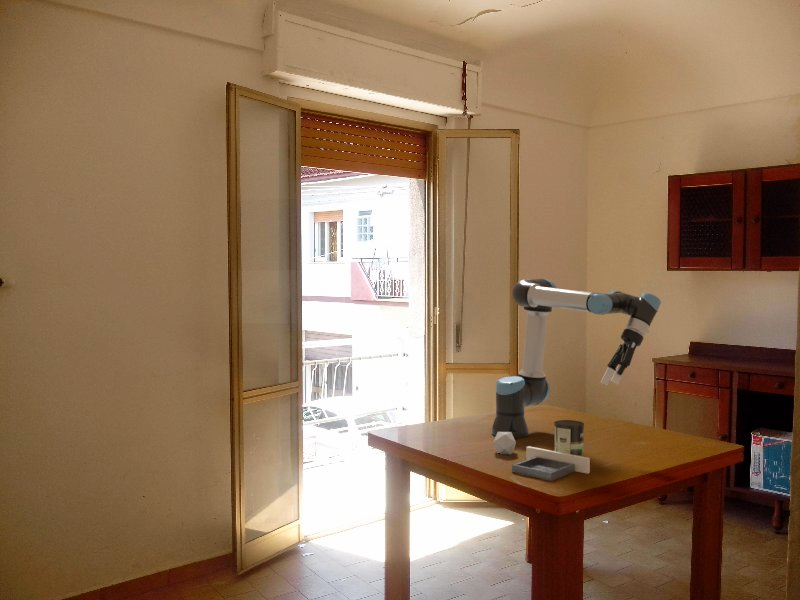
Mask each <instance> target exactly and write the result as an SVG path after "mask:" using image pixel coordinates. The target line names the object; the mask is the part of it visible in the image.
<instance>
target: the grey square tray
mask: <svg viewBox="0 0 800 600" xmlns="http://www.w3.org/2000/svg"><path fill="white" fill-rule="evenodd" d="M513 472H516V473H515V474H518V473H520V474H519V475H522V474H523V476H526V475H528V476H527V477H531V476H532V478H535V477H536V479H540V480H544V479H545V480H544V481H548V480H549V482H552V481H554V480H557V479H560V478H562V477H564V476H567V475H569V474H571V473H574V472H576V471H575V464H571V463H566V462H561V461H556V460H551V459H547V458H542V457H537V456H536V457H533V458H530V459H528V460H525V459H524V460H523V461H519V462H517V463H513V464H512V465H511V473H513Z"/></svg>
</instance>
